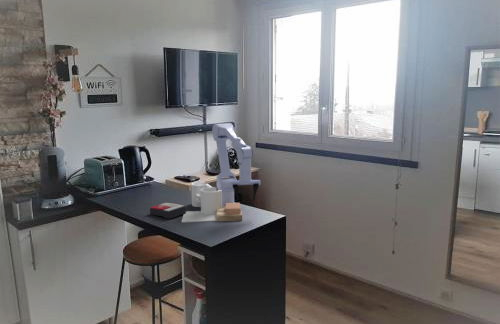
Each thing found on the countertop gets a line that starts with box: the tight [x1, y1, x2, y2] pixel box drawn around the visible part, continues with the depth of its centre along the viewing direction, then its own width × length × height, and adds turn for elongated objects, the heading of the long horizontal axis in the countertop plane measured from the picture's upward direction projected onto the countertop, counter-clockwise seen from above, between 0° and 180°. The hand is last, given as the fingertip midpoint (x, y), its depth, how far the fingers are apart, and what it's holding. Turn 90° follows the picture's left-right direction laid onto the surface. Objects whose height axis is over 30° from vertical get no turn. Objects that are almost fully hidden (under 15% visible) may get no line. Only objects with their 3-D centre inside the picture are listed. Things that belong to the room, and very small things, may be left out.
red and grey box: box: [149, 202, 187, 220], centre depth 200 cm, size 11×4×15 cm
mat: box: [181, 210, 218, 224], centre depth 195 cm, size 16×16×1 cm
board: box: [216, 205, 243, 222], centre depth 196 cm, size 16×12×2 cm
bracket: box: [190, 181, 222, 214], centre depth 208 cm, size 25×10×12 cm, turn 28°
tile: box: [226, 202, 242, 214], centre depth 196 cm, size 10×7×2 cm
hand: (245, 199), depth 193 cm, fingers open, 7 cm apart
